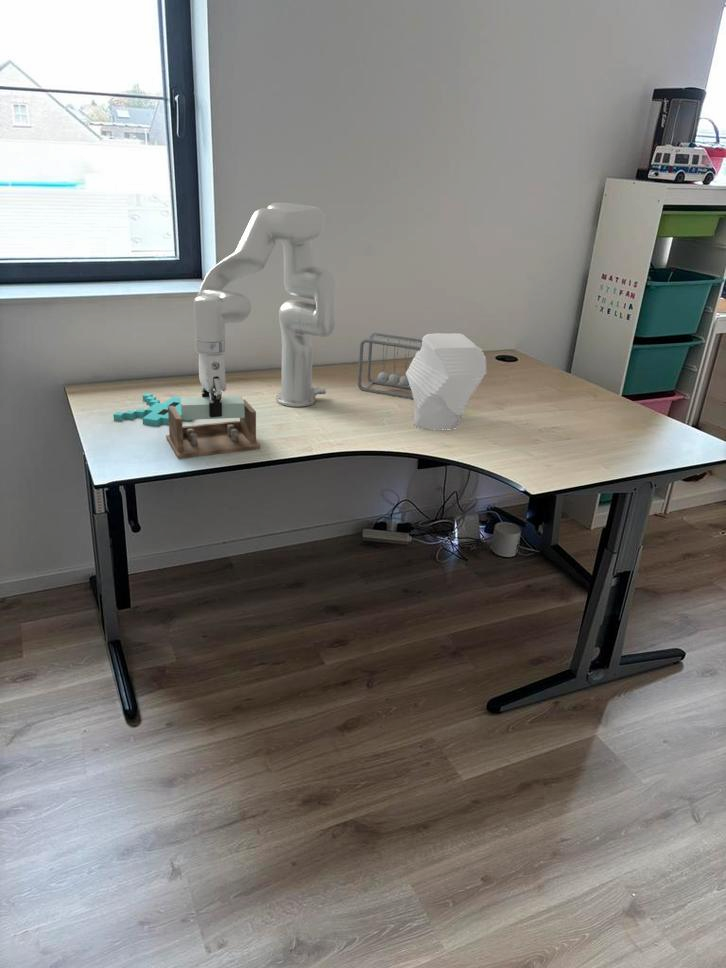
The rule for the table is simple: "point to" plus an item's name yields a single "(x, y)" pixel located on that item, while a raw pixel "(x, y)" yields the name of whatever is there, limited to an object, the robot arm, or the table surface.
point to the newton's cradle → (383, 375)
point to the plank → (200, 408)
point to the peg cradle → (212, 435)
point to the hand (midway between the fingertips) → (212, 411)
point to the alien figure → (152, 411)
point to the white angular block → (444, 379)
